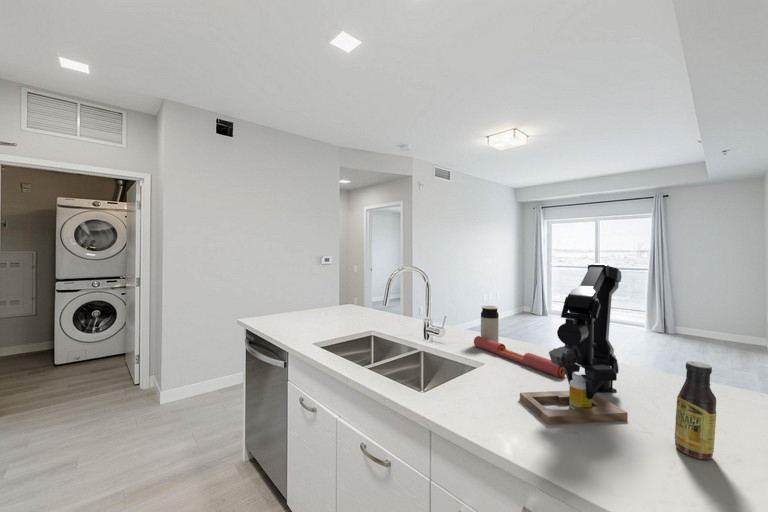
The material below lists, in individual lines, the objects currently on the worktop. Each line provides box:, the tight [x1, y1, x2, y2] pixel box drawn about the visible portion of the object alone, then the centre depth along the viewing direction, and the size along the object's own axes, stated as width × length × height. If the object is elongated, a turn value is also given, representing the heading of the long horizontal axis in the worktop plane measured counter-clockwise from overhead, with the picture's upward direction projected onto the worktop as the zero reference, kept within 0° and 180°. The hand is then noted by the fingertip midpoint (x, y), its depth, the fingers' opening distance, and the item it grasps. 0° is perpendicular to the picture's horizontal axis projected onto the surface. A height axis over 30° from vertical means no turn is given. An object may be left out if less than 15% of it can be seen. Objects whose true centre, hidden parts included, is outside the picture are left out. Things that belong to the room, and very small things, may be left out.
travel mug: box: [480, 305, 500, 343], centre depth 152 cm, size 8×8×18 cm
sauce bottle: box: [674, 360, 717, 461], centre depth 70 cm, size 7×6×20 cm
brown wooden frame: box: [519, 390, 629, 425], centre depth 90 cm, size 22×14×2 cm, turn 96°
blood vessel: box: [473, 335, 566, 379], centre depth 131 cm, size 42×5×5 cm, turn 27°
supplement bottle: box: [568, 371, 592, 409], centre depth 90 cm, size 5×5×10 cm
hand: (580, 393), depth 90 cm, fingers open, 6 cm apart
